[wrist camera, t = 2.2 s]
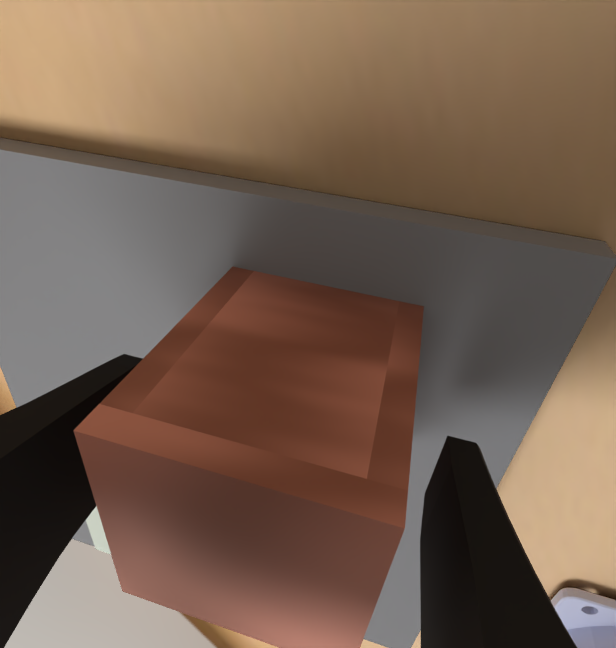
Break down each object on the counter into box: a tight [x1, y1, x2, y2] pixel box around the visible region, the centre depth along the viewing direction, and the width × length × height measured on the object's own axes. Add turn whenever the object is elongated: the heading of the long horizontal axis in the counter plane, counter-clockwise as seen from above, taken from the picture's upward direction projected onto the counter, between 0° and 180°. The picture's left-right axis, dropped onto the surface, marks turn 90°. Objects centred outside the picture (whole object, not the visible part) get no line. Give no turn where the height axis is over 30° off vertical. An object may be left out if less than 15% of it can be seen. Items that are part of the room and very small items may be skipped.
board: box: [0, 138, 616, 648], centre depth 14 cm, size 18×20×6 cm
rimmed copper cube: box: [73, 267, 424, 648], centre depth 10 cm, size 5×5×6 cm
